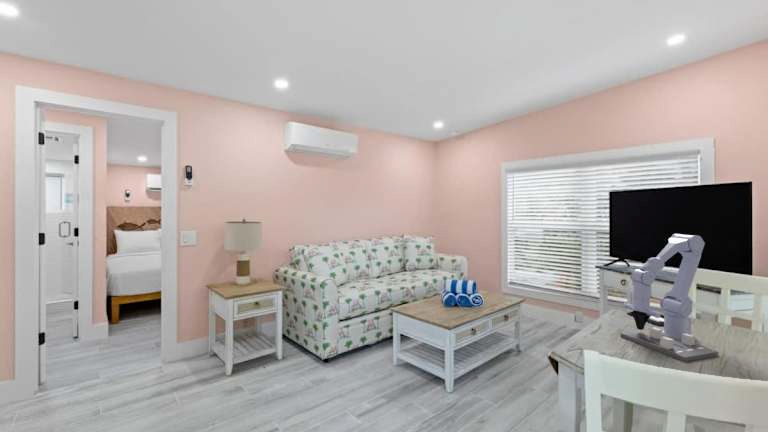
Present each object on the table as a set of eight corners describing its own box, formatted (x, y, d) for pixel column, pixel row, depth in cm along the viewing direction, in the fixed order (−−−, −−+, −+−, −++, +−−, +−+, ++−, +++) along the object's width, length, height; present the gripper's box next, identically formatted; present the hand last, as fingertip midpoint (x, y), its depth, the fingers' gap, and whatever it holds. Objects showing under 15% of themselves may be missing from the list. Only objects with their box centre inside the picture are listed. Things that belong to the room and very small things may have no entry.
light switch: (623, 310, 176) (647, 307, 178) (623, 316, 176) (647, 312, 178) (658, 324, 156) (685, 320, 158) (658, 330, 157) (685, 326, 158)
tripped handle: (653, 335, 141) (654, 327, 141) (661, 338, 139) (662, 329, 138) (649, 336, 141) (649, 327, 140) (657, 339, 138) (657, 330, 138)
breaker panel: (650, 332, 150) (651, 320, 150) (717, 355, 127) (718, 342, 127) (620, 336, 145) (621, 324, 144) (684, 361, 122) (685, 347, 121)
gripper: (618, 294, 151) (617, 324, 151) (652, 303, 137) (651, 336, 137) (629, 293, 153) (628, 322, 153) (664, 302, 139) (663, 334, 139)
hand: (640, 329), depth 145 cm, fingers closed
